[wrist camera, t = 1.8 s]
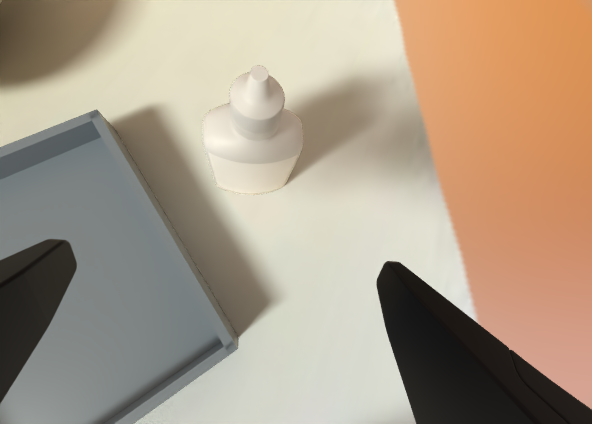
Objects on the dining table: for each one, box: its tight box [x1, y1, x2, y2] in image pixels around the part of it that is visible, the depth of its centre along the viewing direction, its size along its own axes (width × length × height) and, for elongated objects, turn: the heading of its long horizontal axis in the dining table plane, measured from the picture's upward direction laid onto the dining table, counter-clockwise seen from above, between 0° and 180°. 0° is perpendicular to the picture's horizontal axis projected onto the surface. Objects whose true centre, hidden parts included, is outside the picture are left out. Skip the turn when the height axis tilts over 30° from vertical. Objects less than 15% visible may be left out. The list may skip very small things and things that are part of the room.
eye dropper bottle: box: [202, 65, 303, 195], centre depth 16 cm, size 4×6×12 cm
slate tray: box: [0, 110, 238, 424], centre depth 17 cm, size 18×16×3 cm
